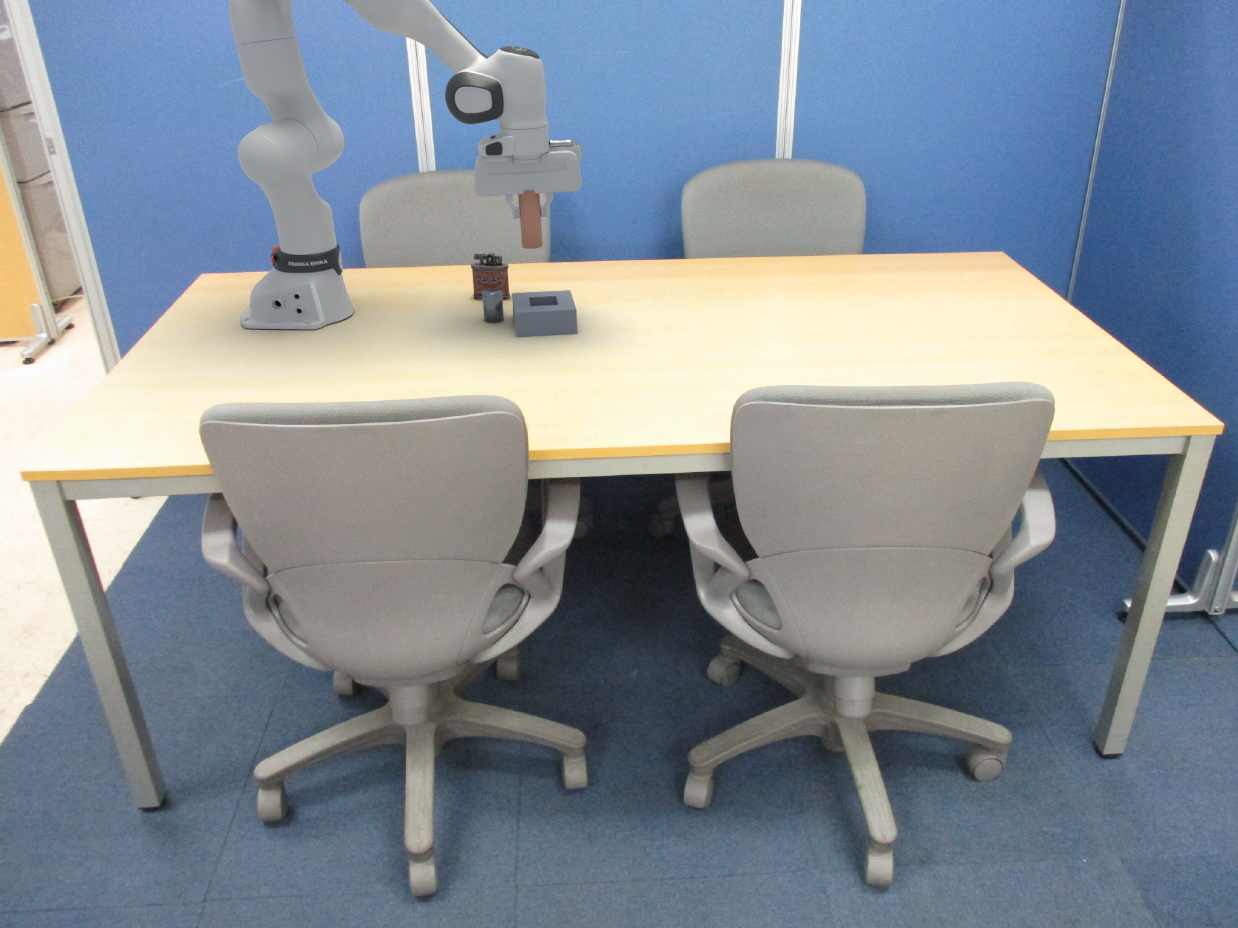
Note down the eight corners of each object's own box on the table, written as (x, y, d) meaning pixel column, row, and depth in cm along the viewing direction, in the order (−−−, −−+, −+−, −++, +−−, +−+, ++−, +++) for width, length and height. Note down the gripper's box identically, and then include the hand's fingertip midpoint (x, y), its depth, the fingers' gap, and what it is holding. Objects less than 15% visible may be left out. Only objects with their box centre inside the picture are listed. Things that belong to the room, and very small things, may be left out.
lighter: (511, 296, 216) (509, 251, 211) (508, 301, 213) (505, 255, 208) (475, 295, 217) (472, 250, 212) (471, 300, 214) (468, 254, 209)
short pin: (484, 323, 201) (482, 295, 198) (484, 317, 204) (482, 289, 202) (504, 322, 201) (502, 294, 199) (503, 316, 205) (501, 288, 202)
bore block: (516, 337, 194) (515, 312, 192) (513, 316, 205) (511, 293, 202) (577, 333, 196) (576, 309, 193) (570, 313, 206) (570, 290, 204)
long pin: (522, 249, 189) (518, 191, 184) (521, 243, 193) (517, 186, 188) (543, 248, 190) (539, 190, 185) (541, 242, 193) (538, 185, 188)
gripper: (579, 136, 186) (582, 209, 193) (470, 142, 184) (477, 216, 190) (583, 142, 181) (586, 217, 187) (470, 148, 178) (477, 224, 185)
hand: (530, 217), depth 189 cm, fingers closed on long pin, 4 cm apart
